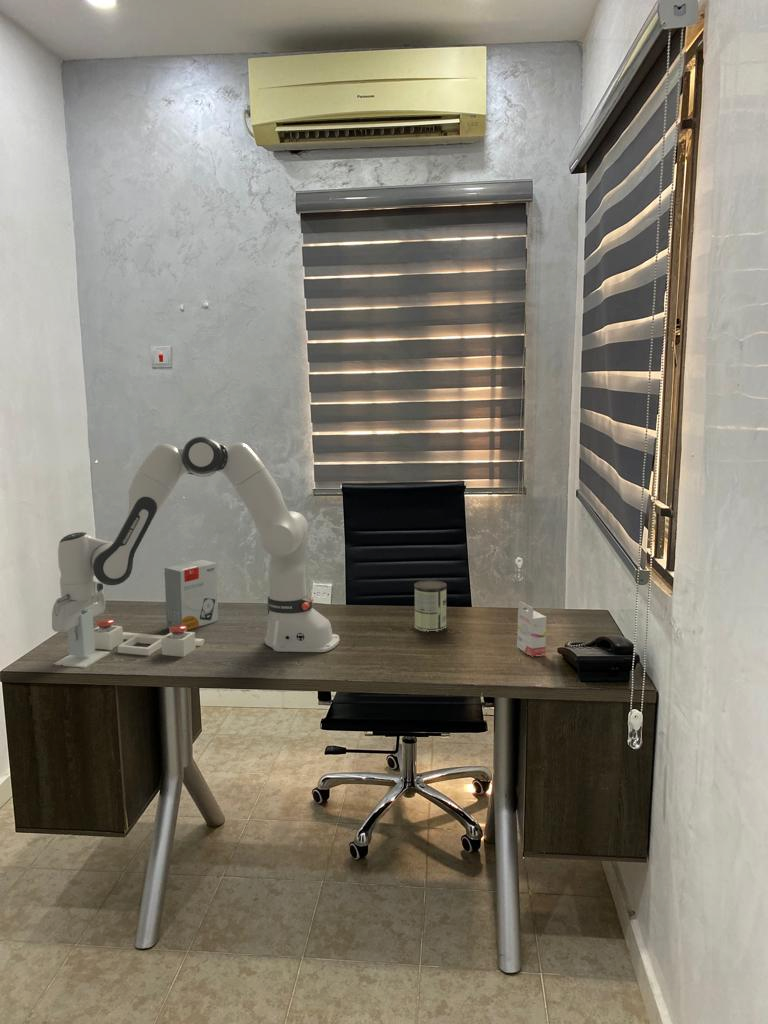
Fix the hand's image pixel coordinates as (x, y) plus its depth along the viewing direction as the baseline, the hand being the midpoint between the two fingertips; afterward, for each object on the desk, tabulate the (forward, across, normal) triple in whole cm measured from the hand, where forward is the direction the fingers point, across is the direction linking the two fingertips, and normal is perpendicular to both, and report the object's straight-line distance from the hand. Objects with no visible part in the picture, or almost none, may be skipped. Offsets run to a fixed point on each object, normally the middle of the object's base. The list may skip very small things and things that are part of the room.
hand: (81, 637), depth 229 cm
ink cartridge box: (+7, +36, -124) cm, 129 cm away
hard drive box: (+7, +36, -16) cm, 40 cm away
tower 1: (+6, +12, 0) cm, 14 cm away
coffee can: (+7, +52, -91) cm, 105 cm away
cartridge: (+5, 0, 0) cm, 5 cm away
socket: (+6, +13, -12) cm, 19 cm away
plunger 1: (+6, +12, 0) cm, 13 cm away
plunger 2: (+6, +12, -24) cm, 27 cm away
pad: (+6, 0, 0) cm, 6 cm away
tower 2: (+6, +12, -24) cm, 28 cm away
